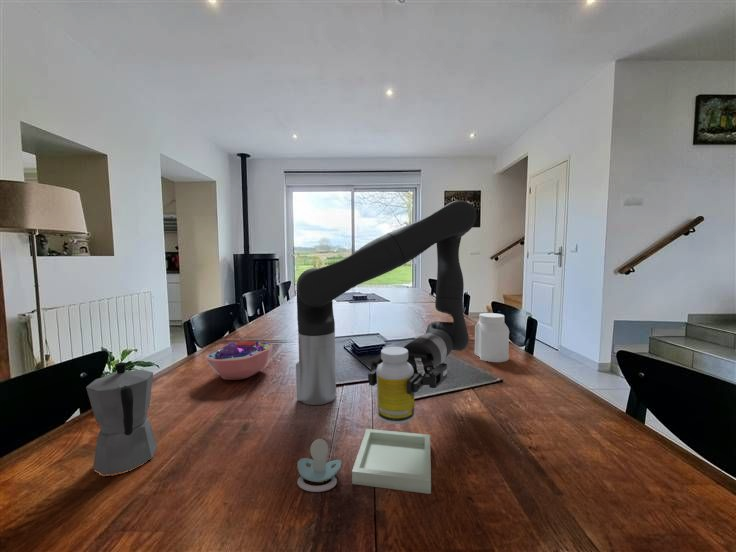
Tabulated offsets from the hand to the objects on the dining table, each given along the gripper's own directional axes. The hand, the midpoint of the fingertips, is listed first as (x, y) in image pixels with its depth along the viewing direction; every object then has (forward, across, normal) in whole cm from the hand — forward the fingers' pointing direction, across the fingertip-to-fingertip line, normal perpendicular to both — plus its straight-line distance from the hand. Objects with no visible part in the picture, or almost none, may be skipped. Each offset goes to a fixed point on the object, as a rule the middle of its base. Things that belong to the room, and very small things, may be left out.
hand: (389, 384), depth 52 cm
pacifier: (+8, -9, +15) cm, 20 cm away
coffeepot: (+22, -42, +15) cm, 49 cm away
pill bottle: (-2, 0, +7) cm, 7 cm away
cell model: (-15, -58, +15) cm, 62 cm away
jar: (-70, +5, +16) cm, 72 cm away
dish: (-2, 0, +15) cm, 15 cm away
